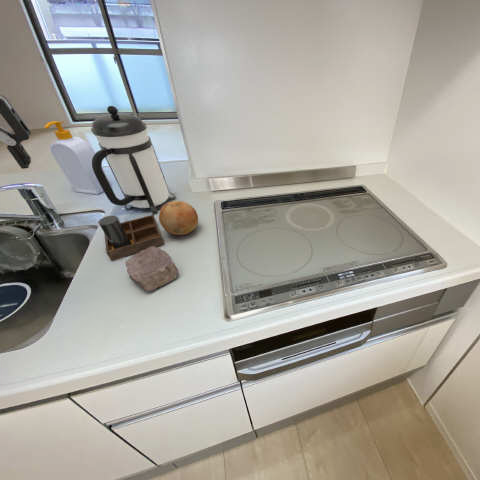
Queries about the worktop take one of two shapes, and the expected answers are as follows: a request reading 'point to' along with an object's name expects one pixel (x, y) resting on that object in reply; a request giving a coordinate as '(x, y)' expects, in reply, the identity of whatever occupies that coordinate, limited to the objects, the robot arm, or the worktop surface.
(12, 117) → the robot arm
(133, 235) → the brown compartment tray
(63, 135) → the soap bottle
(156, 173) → the coffee press
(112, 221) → the dark grey cylinder
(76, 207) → the worktop surface
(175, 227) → the onion
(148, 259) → the stone
